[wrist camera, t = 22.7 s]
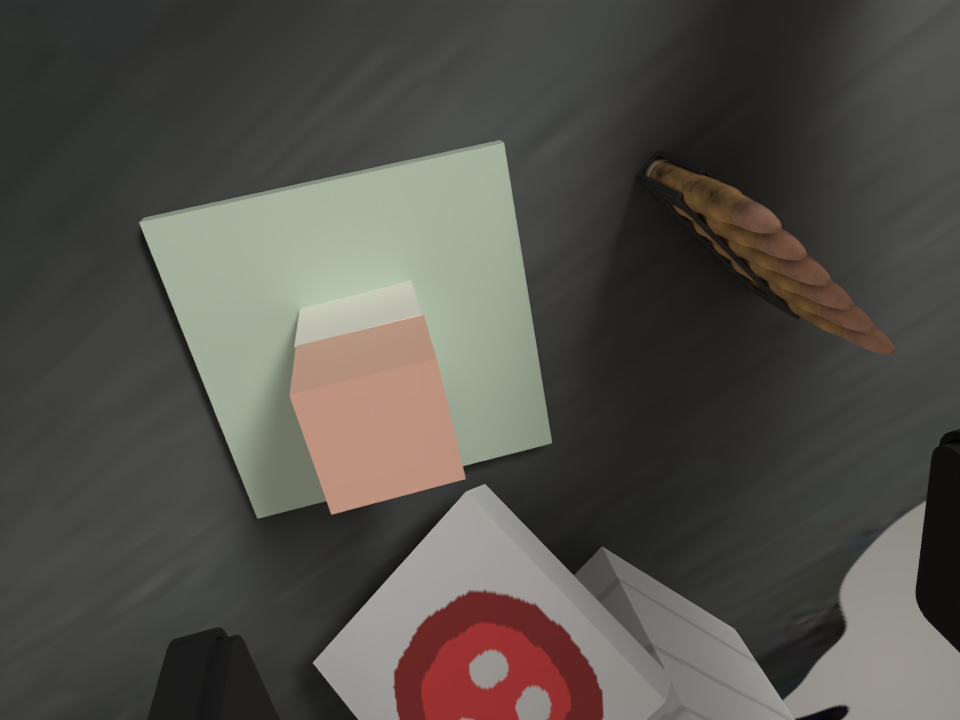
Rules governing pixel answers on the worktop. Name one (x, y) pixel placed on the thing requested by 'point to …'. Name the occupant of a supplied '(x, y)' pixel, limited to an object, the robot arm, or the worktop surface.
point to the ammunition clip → (758, 249)
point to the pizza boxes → (535, 637)
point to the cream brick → (357, 313)
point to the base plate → (350, 271)
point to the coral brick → (375, 414)
